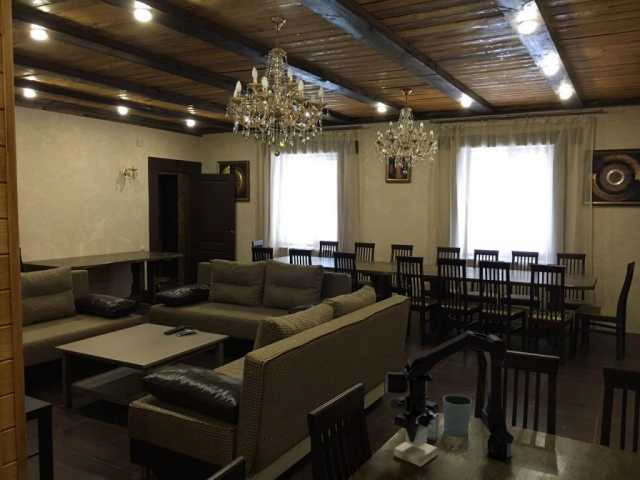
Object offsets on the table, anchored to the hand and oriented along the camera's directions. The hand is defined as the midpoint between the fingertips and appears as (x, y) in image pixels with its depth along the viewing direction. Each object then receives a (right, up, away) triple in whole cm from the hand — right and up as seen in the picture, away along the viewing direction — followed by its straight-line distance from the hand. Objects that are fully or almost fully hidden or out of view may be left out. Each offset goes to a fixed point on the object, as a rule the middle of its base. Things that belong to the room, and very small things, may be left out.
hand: (416, 439), depth 174 cm
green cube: (0, -1, 0) cm, 1 cm away
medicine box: (+6, -4, +14) cm, 16 cm away
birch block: (0, -6, +1) cm, 6 cm away
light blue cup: (+18, -4, +18) cm, 26 cm away
